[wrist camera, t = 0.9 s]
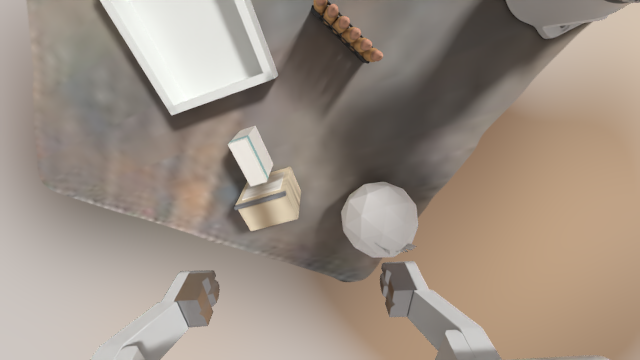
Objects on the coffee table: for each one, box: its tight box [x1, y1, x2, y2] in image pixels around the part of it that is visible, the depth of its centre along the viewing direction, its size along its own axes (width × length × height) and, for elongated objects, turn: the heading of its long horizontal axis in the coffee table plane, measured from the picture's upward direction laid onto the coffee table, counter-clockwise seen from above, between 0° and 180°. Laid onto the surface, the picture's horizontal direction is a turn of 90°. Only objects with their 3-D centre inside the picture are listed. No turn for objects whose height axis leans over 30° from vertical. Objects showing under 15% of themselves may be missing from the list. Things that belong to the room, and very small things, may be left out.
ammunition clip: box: [311, 0, 383, 63], centre depth 31 cm, size 11×2×12 cm, turn 50°
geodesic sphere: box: [341, 182, 418, 258], centre depth 45 cm, size 15×14×14 cm
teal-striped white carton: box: [228, 126, 273, 187], centre depth 42 cm, size 3×8×7 cm, turn 18°
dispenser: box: [234, 167, 301, 231], centre depth 45 cm, size 9×6×10 cm
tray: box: [100, 0, 278, 116], centre depth 34 cm, size 17×19×5 cm
